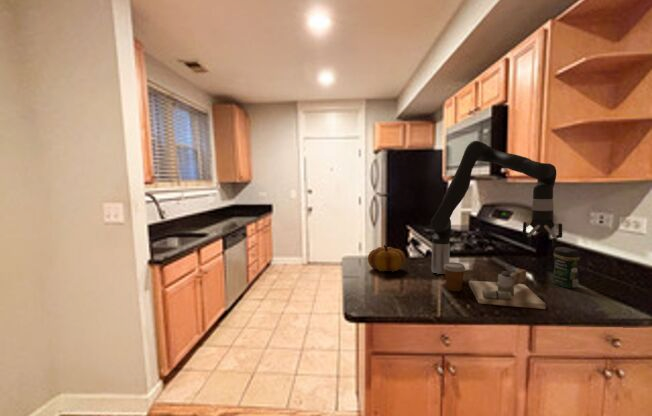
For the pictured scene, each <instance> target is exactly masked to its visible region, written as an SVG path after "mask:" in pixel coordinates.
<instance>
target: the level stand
mask: <svg viewBox="0 0 652 416" xmlns="http://www.w3.org/2000/svg"><path fill="white" fill-rule="evenodd" d="M468 286H469V287H470V289H471V291H472V292H473V295H474V297H475V299H476V300H477V302H478V304H484V305H496V306H504V307H505V306H506V307H507V306H508V307H515V308H516V307H519V308H529V309H540V310H546V307H547V305H546V303H545V302H544V301H543V300H542V299H541V298H540V297H538V295H536V293H534V291H532V290H531V289H530V288H529V287H528V286H527V285H526V284H525V283H519V284H517V285H515V286H514V295H513V296H511V293H510V292H500V291H498V281H496V282H495V281H483V280H480V281H479V280H468Z"/></svg>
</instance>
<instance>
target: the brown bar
mask: <svg viewBox="0 0 652 416" xmlns="http://www.w3.org/2000/svg"><path fill="white" fill-rule="evenodd" d="M526 278H527V270H526V269H523V268H522V269H521V268H520V269H518V270H516V271H513V272H511V271H508V270H507V271H506V270H502V272H501V273H499V274H497V282H498V291H500V292H510V293H511V296H513V295H514V286H515V285H517V284H523V283H525V282H526V281H527V279H526Z"/></svg>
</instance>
